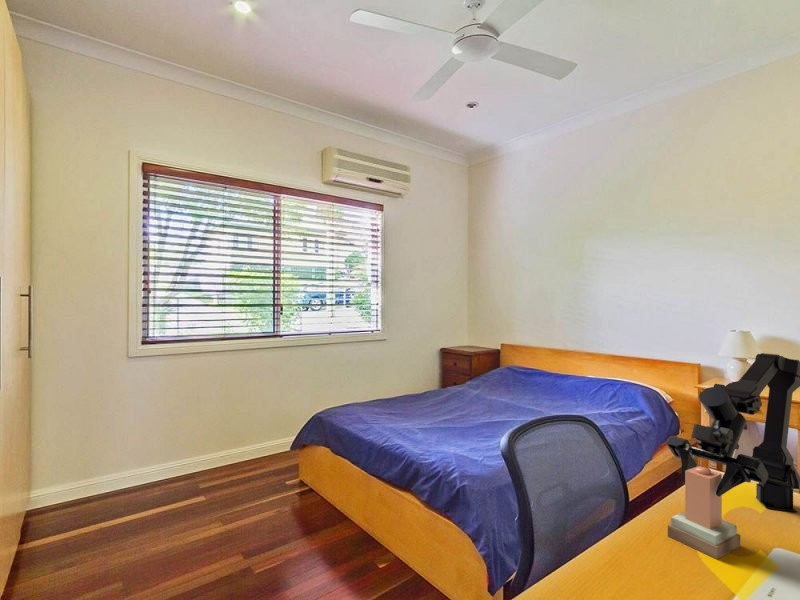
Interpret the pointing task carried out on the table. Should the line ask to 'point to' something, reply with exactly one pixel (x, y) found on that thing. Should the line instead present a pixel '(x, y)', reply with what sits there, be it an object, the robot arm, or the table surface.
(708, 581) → the table surface
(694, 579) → the table surface
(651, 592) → the table surface
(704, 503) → the top brick
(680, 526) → the base brick
